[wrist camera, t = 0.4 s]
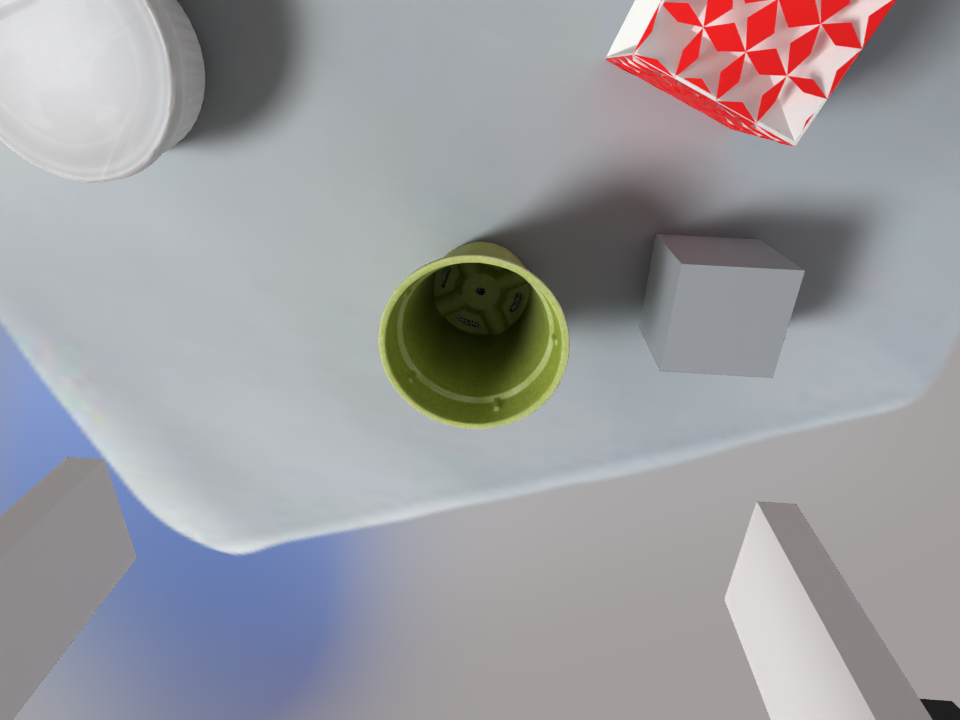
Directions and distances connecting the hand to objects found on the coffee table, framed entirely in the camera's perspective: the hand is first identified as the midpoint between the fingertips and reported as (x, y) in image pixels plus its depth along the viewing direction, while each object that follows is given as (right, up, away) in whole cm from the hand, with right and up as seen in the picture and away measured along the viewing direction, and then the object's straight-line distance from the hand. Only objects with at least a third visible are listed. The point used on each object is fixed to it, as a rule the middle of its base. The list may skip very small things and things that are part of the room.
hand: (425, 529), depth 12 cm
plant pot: (+1, +8, +24) cm, 25 cm away
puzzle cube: (+13, +21, +17) cm, 30 cm away
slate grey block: (+14, +8, +23) cm, 28 cm away
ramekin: (-18, +20, +19) cm, 33 cm away
